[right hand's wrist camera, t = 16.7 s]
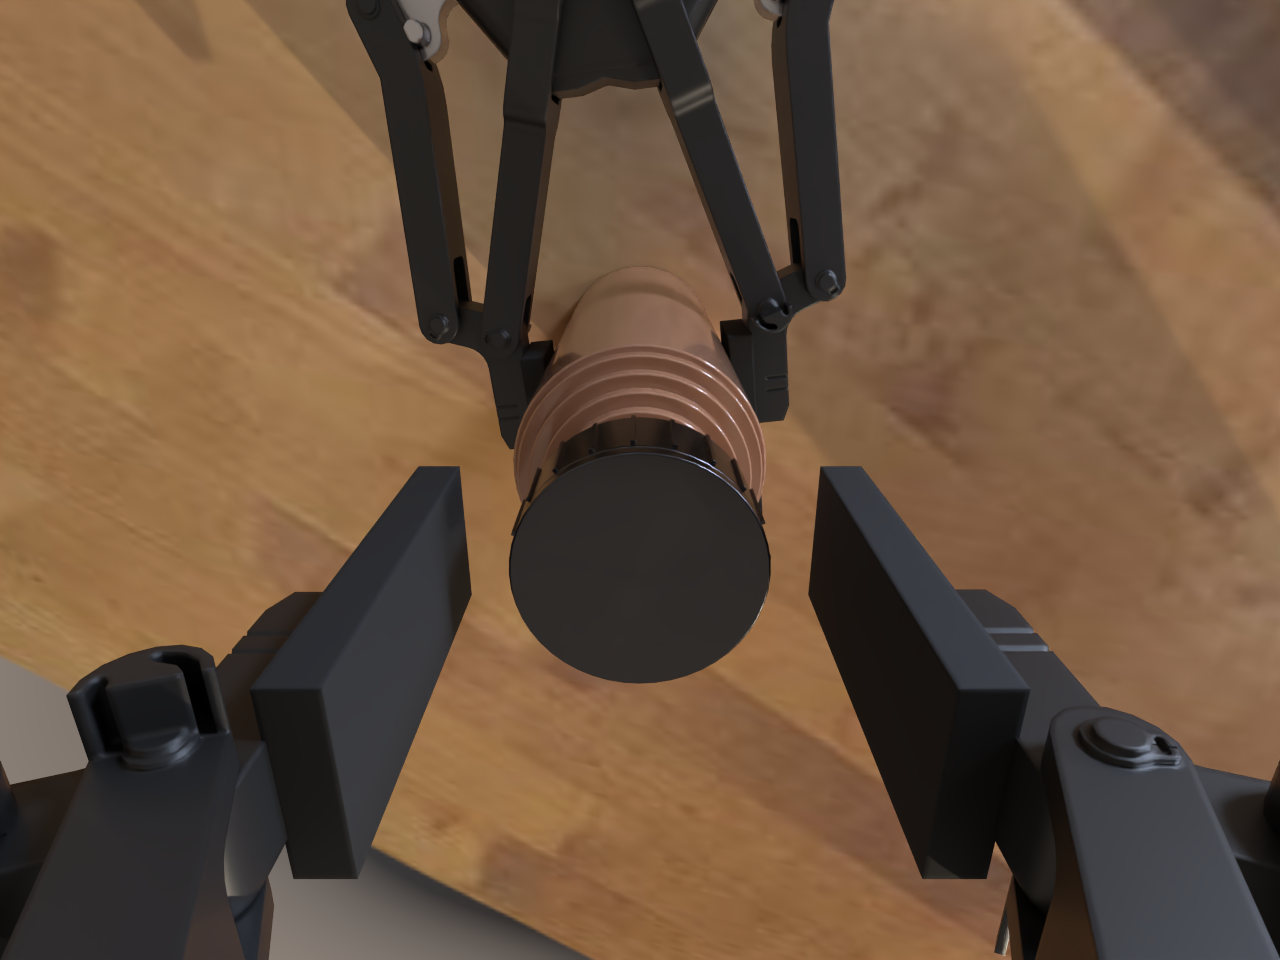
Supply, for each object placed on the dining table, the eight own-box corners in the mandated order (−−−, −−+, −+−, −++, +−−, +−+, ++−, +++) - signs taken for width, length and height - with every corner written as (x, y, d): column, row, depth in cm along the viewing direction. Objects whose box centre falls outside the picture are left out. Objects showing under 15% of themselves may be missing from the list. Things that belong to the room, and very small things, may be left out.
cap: (476, 486, 14) (453, 531, 13) (686, 369, 14) (693, 399, 12) (599, 660, 16) (595, 723, 14) (796, 564, 15) (817, 618, 13)
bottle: (698, 253, 30) (786, 371, 12) (719, 393, 32) (821, 671, 14) (555, 281, 31) (433, 435, 12) (585, 417, 33) (518, 717, 15)
